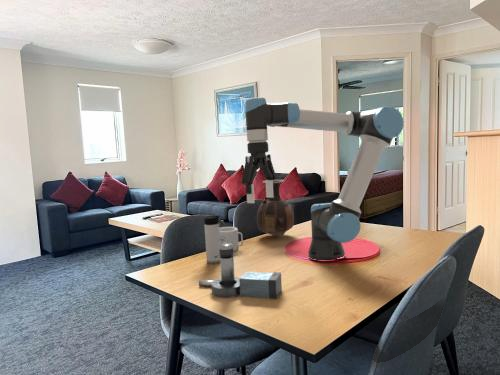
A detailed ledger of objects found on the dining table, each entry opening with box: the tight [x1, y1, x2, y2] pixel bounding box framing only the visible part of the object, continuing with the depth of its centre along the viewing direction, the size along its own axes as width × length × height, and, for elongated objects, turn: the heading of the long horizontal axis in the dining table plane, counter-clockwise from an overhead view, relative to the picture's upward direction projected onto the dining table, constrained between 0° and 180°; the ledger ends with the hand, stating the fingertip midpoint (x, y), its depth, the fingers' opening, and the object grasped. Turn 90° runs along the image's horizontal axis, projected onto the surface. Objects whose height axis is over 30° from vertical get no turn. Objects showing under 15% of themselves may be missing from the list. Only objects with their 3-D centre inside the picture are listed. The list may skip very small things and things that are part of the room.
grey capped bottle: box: [219, 243, 236, 286], centre depth 127 cm, size 5×5×16 cm
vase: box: [256, 179, 295, 238], centre depth 198 cm, size 23×19×30 cm
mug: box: [219, 226, 244, 252], centre depth 179 cm, size 14×11×10 cm
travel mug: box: [203, 215, 220, 265], centre depth 161 cm, size 6×7×20 cm
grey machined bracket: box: [198, 270, 283, 300], centre depth 127 cm, size 30×11×6 cm, turn 72°
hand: (260, 200), depth 138 cm, fingers open, 13 cm apart
